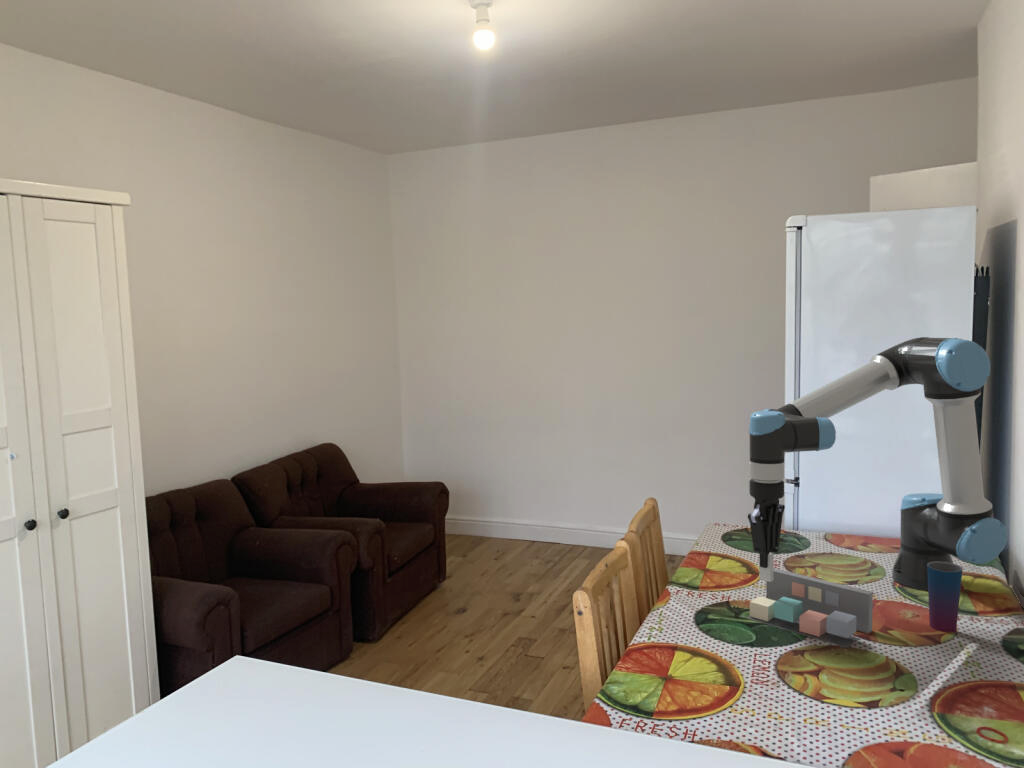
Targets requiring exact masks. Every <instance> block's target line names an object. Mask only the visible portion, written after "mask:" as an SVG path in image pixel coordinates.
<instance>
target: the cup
mask: <svg viewBox="0 0 1024 768" xmlns="http://www.w3.org/2000/svg"><path fill="white" fill-rule="evenodd" d="M953 563H954V562H953ZM953 563H949V562H940V561H935V562H929V563H928V564H927V574H928V590H927V592H928V593H927V594H928V595H927V596H928V615H929V627H930V628H931V629H933V630H936V631H939V632H944V633H947V632H948V633H954V634H955V633H957V625H958V616H959V606H960V596H961V587H962V578H963V567H962V566H960V565H958V564H957V563H954V564H953Z"/></svg>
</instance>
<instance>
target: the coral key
mask: <svg viewBox="0 0 1024 768" xmlns="http://www.w3.org/2000/svg"><path fill="white" fill-rule="evenodd" d="M827 616H828V615H826V614H822V613H819V612H815V611H811V610H808V611H806V612H805V613H803V614H802V615H800V618H799V621H800V626H799V631H801V632H804V633H808V634H811V635H814V636H818V637H820V636H822V635H823V634H824V633H826V624H827Z"/></svg>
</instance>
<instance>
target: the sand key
mask: <svg viewBox="0 0 1024 768" xmlns="http://www.w3.org/2000/svg"><path fill="white" fill-rule="evenodd" d="M774 602H775V600H771V599H768V598H766V597H764V596H760V595H759V596H757V597H756V598H753V599H752V600H750V601H749V616H751V617H754V618H757V619H761V620H764V621H767V622H768V621H770V620H771V619H773V618H774Z"/></svg>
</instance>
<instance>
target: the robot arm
mask: <svg viewBox="0 0 1024 768" xmlns="http://www.w3.org/2000/svg"><path fill="white" fill-rule="evenodd" d="M990 375H991V361H990V358H989V355H988V353H987V351H986V350H985V349H984V348H983V346H981V345H979V344H978V343H977V342H974V341H973V340H969V339H962V338H957V337H952V338H951V337H928V336H927V337H926V336H921V337H915V338H911V339H909V340H905V341H903V342H900V343H898V344H896V345H894V346H891V347H889V348H888V349H885V350H883V351H881V352H879V353H878V354H876V355H874V356H872V357H871V358H870V360H869V362H868V363H866V364H864V365H863V366H861V367H859V368H857V369H855V370H852V371H851V372H849V373H846V374H844V375H843V376H841V377H839V378H837V379H835V380H833V381H831V382H829V383H827V384H825V385H822V386H821V387H819V388H817V389H815V390H813V391H811V392H809V393H807V394H805V395H803V396H801V397H800V398H797V399H796V400H794V401H792V402H789V403H788V404H787V403H786V404H785V405H783V406H780V407H778V408H777V409H775V408H766V409H763V410H759V411H755V412H752V413H751V415H750V418H749V428H748V429H749V430H748V434H749V463H748V466H749V477H750V480H749V483H748V484H749V490H748V491H749V492H748V493H749V495H750V497H752V498H753V499H754V503H753V509H754V510H753V512H752V513H750V512H749V513H748V514H747V519H748V522H749V526H750V532H751V539H752V549H753V551H754V552H756V553H759V554H758V555H759V557H758V558H759V562H758V563H759V564H758V565H759V566H758V567H759V571H758V572H759V574H758V575H759V580H761V581H764V582H766V581H768V582H771V581H773V568H775V567H774V566H775V565H774V557H775V555H774V553H778V552H779V546H780V541H781V540H780V539H781V532H782V523H783V517H784V516H783V515H784V511H785V510H786V509H785V508H786V506H785V504H781V503H780V499H782V498H783V497H784V496H785V481H784V479H785V456H786V453H796V452H799V453H801V452H815V451H816V452H819V451H825V450H828V449H831V448H833V446H834V445H835V442H836V440H837V438H836V436H837V435H836V433H837V432H836V427H835V425H834V422H832V421H831V419H829V418H831V417H833V416H835V415H838V414H840V413H841V412H844V411H845V410H847V409H850V408H851V407H853V406H855V405H857V404H859V403H861V402H863V401H865V400H867V399H869V398H871V397H873V396H875V395H877V394H879V393H881V392H883V391H885V390H889V391H894V390H896V389H898V388H900V387H903V386H908V385H921V386H923V394H924V398H925V399H926V400H927V401H929V402H930V403H932V410H933V421H934V428H935V437H936V445H937V446H936V447H937V455H938V456H937V457H938V466H939V474H940V484H941V492H942V493H930V492H928V493H927V492H926V493H924V492H923V493H921V492H919V493H910V494H906V495H904V497H902V499H901V506H900V547H899V551H898V554H897V557H896V559H895V561H894V564H893V566H892V573H891V574H892V575H891V576H892V577H891V578H892V579H893V580H894V581H895V582H896V583H898V584H900V585H902V586H905V587H908V588H912V589H917V590H922V591H928V574H927V564H928V563H929V562H935V561H940V562H949V563H953V564H955V563H954V560H953V557H952V556H955V557H957V558H958V559H960V560H961V561H965V562H970V563H971V564H977V565H980V564H983V565H984V564H987V563H991V562H992V561H993V560H995V559H996V558H998V556H999V555H1000V553H1001V552H1003V551H1004V548H1005V547H1006V544H1007V540H1008V539H1007V538H1008V531H1007V528H1006V526H1005V525H1004V523H1003V522H1001V521H1000V519H997V518H995V517H994V510H993V503H992V502H991V501H989V500H988V499H987V498H985V495H984V484H983V475H982V467H981V466H982V465H981V464H982V463H981V456H980V454H981V453H980V446H979V437H978V436H979V435H978V434H979V433H978V424H977V414H976V407H975V401H976V399H977V398H978V397H980V396H981V394H982V391H981V389H982V387H983V386H984V385H986V383H987V382H988V380H987V378H989V377H990Z"/></svg>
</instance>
